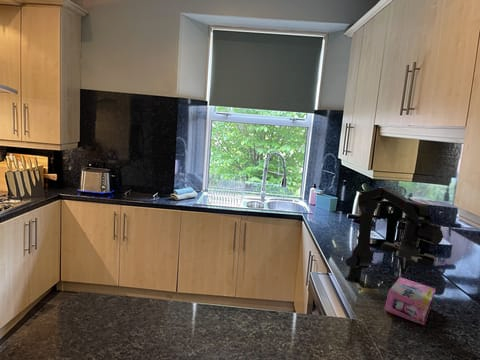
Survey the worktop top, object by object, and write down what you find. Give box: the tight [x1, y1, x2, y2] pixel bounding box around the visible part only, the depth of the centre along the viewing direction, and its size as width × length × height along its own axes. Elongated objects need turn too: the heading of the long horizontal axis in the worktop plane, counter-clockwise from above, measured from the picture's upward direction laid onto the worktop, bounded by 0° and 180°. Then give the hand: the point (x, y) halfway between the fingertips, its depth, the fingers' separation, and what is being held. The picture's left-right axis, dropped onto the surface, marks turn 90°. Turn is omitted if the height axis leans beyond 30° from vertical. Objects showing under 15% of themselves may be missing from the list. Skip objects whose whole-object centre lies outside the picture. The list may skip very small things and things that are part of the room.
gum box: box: [383, 276, 436, 326], centre depth 138 cm, size 24×8×14 cm
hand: (402, 274), depth 140 cm, fingers closed
